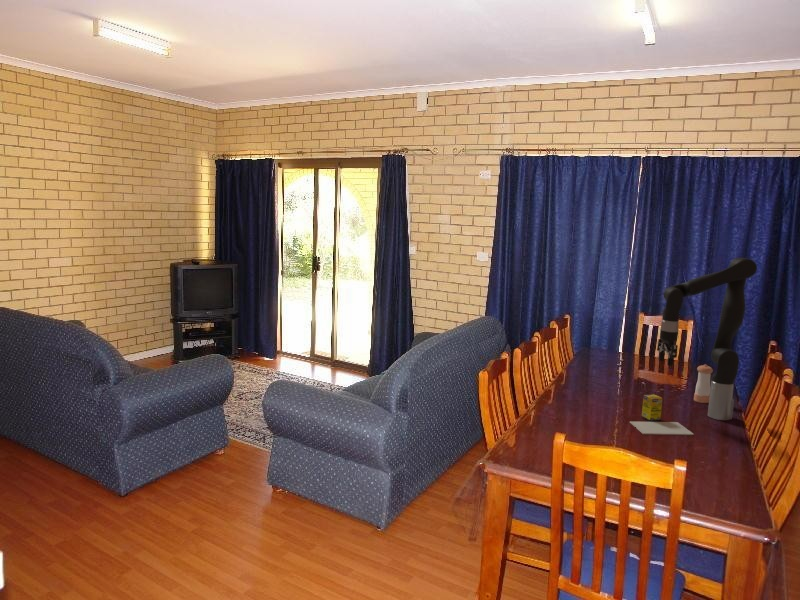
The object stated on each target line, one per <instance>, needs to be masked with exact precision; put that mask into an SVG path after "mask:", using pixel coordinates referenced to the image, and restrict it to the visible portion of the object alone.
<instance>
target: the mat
mask: <svg viewBox="0 0 800 600" xmlns="http://www.w3.org/2000/svg"><path fill="white" fill-rule="evenodd" d="M629 423H630V425H632V426H633V427H634V428H635V427H636V428H635V429H636V430H638V431H639V432H640V433H641V434H642V435H661V436H662V435H663V436H664V435H665V436H667V435H668V436H670V435H671V436H673V435H674V436H695V434H694V433H693V432H692V431H691V430H689V429H687V427H685V426H684V425H682V424H681V423H680V422H677V421H629Z"/></svg>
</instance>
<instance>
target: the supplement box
mask: <svg viewBox="0 0 800 600" xmlns="http://www.w3.org/2000/svg"><path fill="white" fill-rule="evenodd" d="M662 405H663V397H661V396H659V395H656V394H654V393H653V394H643V399H642V406H641V407H642V410H641V418H642V417H643V418H642V419H643V420H646V421H647V422H661V417H662V408H663V406H662Z"/></svg>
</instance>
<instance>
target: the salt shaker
mask: <svg viewBox="0 0 800 600" xmlns="http://www.w3.org/2000/svg"><path fill="white" fill-rule="evenodd" d="M696 370H697V372H698V375H697V380H696V381H697V382H696V385H695V392H694V394H693V401H694V402H697V403H701V404H709V397H710V388H711V377H712V375H711V374H712V373H713V371H714V370H713V368H712V367H711V366H709V365H707V364H706V363H705V364H703V365H702V364H701V365H699V366H698V367H697V368H696Z"/></svg>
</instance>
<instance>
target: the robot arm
mask: <svg viewBox="0 0 800 600" xmlns="http://www.w3.org/2000/svg"><path fill="white" fill-rule="evenodd" d="M757 270H758V265H757V264H756V262H755V261H754V260H752V259H750V258H747V257H736V258H733V259H732V260H731V261H730V262H729V265H728V267H727V268H725V269H722V270H719V271H715V272H712V273H708V274H704V275H701V276H698V277H695V278H693V279H689V280H687V281H686V282H682V283H677V284H674V285H671V286H668V287H667V288H665V290H664V291H663V295H662V296H663V298H664V300H665V301H666V304H665V307H664V308H663V311H662V317H661V318H662V319H661V324H660V332H659V338H658V341H657V349H656V350H657V352H658V353H659V355H658V361H659V362H664V361H665V355H666V354H667V356H668V358H667V367H672V366H674V365H673V364H674V359H675V358H678V347H679V346H678V344H675V342H676V341H678V335H679V324H680V323H679V322H680V311H681V309H682V306H683V301H684V298H685V297H691V296H693V297H694V296H696V295H698V294H700V293H703V292H706V291H708V290H711V289H713V288H716V287H720V286H722V285H726V289H725V293H724V296H723V303H722V307H721V310H720V311H721V312H720V317H719V323H718V327H717V333H716V337H715V339H714V340H715V341H714V343H713V347H712V350H711V356H710V359H711V362H713V363H714V364H715V365H716V366H717V367H716V372H714V373H713V374H712V375H711V378H710V397H709V403H708V407H707V408H708V409H707V417H709V418H711V419H714V420H716V421H717V420H718V421H730V420H733V412H734V402H735V399H733V394H734V384H735V380H736V378H737V376H738V370H739V363H740V358H739V355H738V353H737V352H736V351H734V350H733V349H732V345H733V339H734V337H735V335H736V333H737V332H738V330H739V329H740V327H741V325H742V323H743V321H744V317H745V312H746V298H745V286H746V285H745V284H746V280H747V279H749V278H752V277H753V276H754V275H755V274H756V272H757ZM665 353H666V354H665Z"/></svg>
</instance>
